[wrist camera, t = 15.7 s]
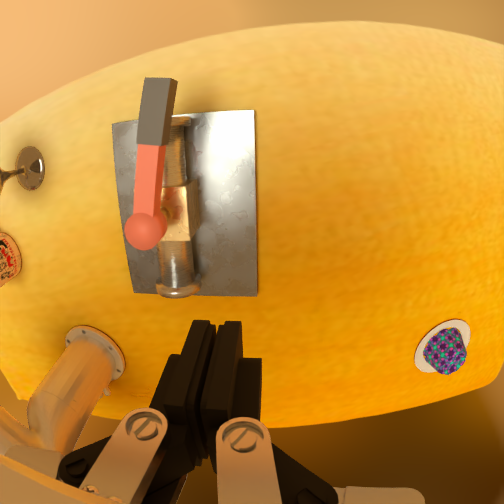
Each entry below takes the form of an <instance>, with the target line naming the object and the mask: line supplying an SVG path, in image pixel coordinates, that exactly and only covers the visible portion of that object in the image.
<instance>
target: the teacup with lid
mask: <svg viewBox="0 0 504 504" xmlns="http://www.w3.org/2000/svg"><path fill="white" fill-rule="evenodd" d="M20 269H21V257H20V253H19V250H18V248H17V246H16V244H15V242H14V241H13V239H12V238H11V237H10V236H8V235H7V234H5V233H0V287H2V286H3V285H4V284H5V283H7V282H8V281H9V280H11V279H12V278H13V277H15V276H16V275H17V274H18V273H19V271H20Z"/></svg>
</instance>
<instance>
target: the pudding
mask: <svg viewBox="0 0 504 504" xmlns="http://www.w3.org/2000/svg"><path fill="white" fill-rule="evenodd" d="M448 327H455V328H451V329H449V330H448V329H444V328H448ZM456 328H458V329H459V330H460V332H461V334H460V333H459V332H458V330H457V329H456ZM442 329H443V330H442ZM440 330H441V331H440ZM438 331H439V333H438V334H437V335H436V336H433V335H434V334H436V333H437V332H438ZM461 335H462V336H461ZM432 336H433V337H432ZM431 337H432V338H431ZM430 338H431V339H430ZM429 339H430V340H429ZM469 340H470V328H469V326H468V324H467V323H466V322H464V321H462V320H450V321H447V322H444V323H442V324H440V325H438V326H437V327H435V328H434V329H433V330H432V331H430V332H429V333H428V334H427V335H426V336H425V337H424V339H423V340H422V341H421V343H420V344H419V346H418V348H417V350H416V353H415V364H416V366H417V368H418V369H419V370H421V371H424V372H436V371H437V372H439V373H441V374H445V375H449V374H451V373H452V372H455V371H457V370H458V369H459V368H460V366H462V365H463V364H464V362H465V358H466V355H467V351H466V347H467V345H468V343H469ZM427 342H428V346H427V347H426V348H425V349H424V347H425V345H426V343H427ZM423 350H424V351H423ZM423 354H424V355H425V356H426V357H425V360H426V361H425V360H424V358H423Z"/></svg>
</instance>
